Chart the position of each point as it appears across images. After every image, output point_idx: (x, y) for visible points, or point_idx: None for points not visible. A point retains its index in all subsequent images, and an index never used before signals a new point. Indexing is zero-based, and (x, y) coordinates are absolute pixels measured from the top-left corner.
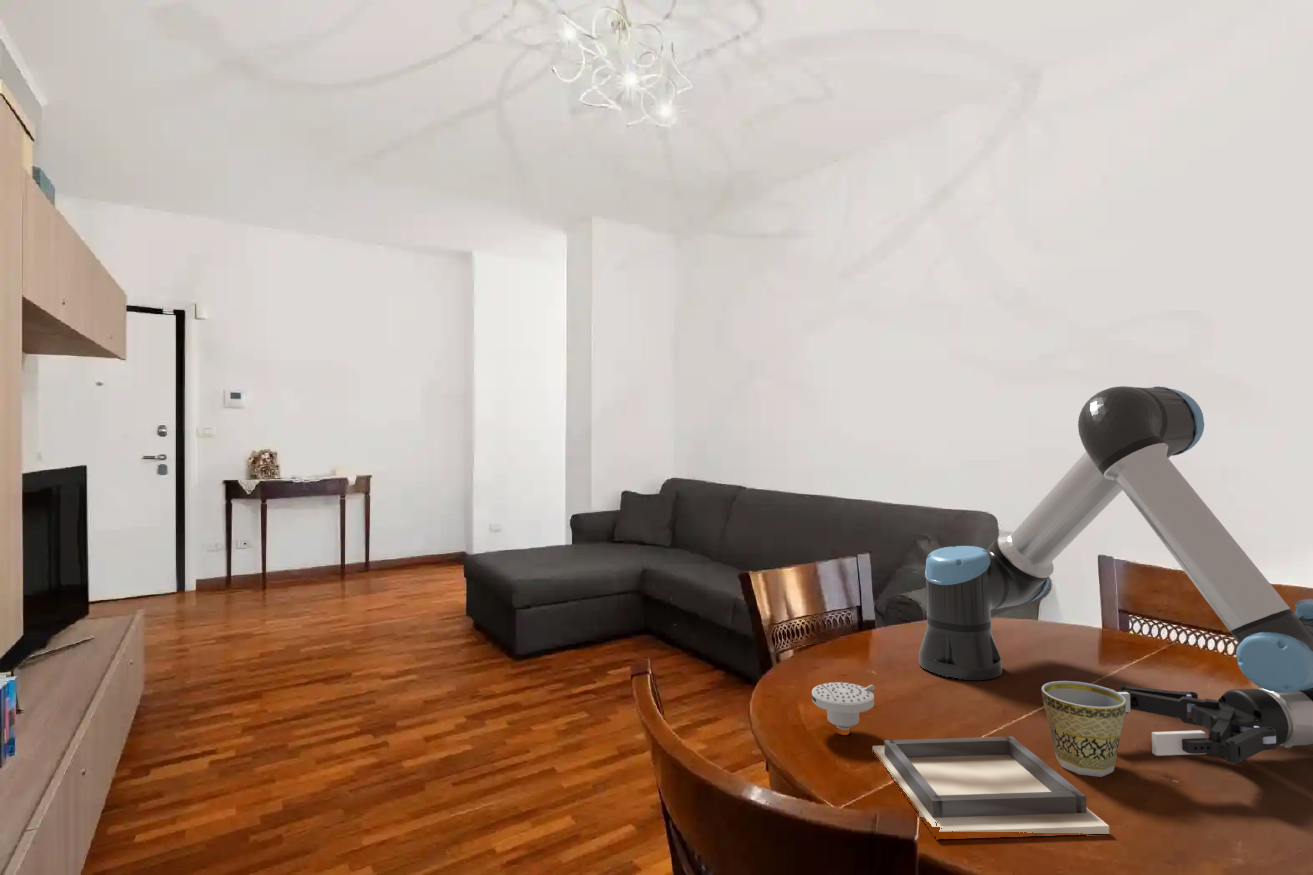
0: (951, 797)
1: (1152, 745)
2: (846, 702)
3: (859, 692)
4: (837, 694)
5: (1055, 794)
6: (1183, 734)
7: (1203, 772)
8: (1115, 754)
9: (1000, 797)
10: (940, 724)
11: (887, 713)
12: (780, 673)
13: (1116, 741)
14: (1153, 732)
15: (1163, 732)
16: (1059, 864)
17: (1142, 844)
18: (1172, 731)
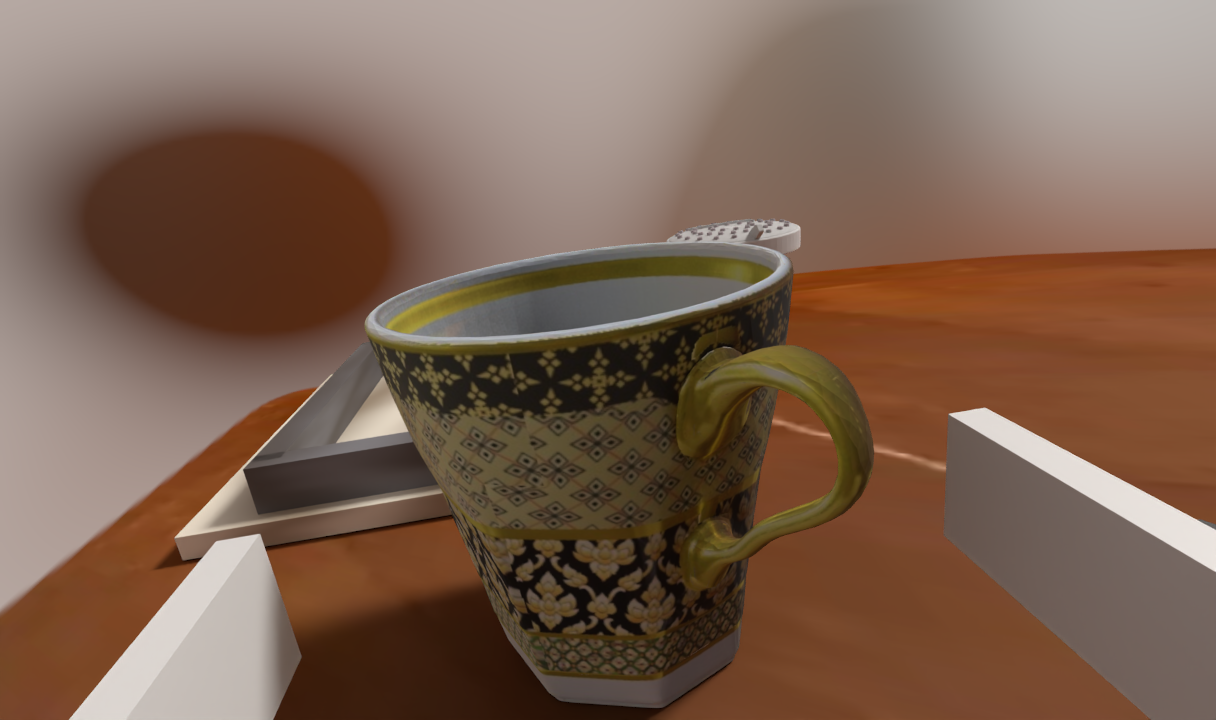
0: (362, 352)
1: (282, 614)
2: (673, 238)
3: (720, 231)
4: (705, 229)
5: (288, 433)
6: (83, 712)
7: None
8: (514, 618)
9: (328, 383)
10: (873, 383)
11: (894, 335)
12: (1042, 256)
13: (482, 548)
14: (251, 541)
15: (210, 586)
16: (171, 477)
17: (88, 612)
18: (177, 643)
